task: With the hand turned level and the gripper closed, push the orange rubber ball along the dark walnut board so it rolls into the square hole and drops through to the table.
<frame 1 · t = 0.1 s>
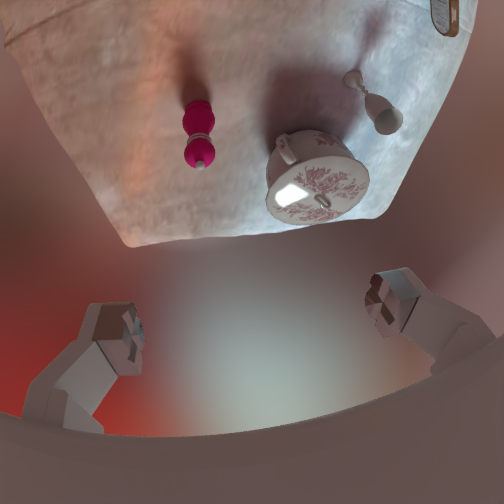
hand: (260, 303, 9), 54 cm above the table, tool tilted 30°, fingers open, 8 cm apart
chamber pot: (302, 149, 74), on the table
chalice: (352, 78, 53), on the table
pepper mill: (198, 110, 58), on the table
tin: (432, 3, 30), on the table
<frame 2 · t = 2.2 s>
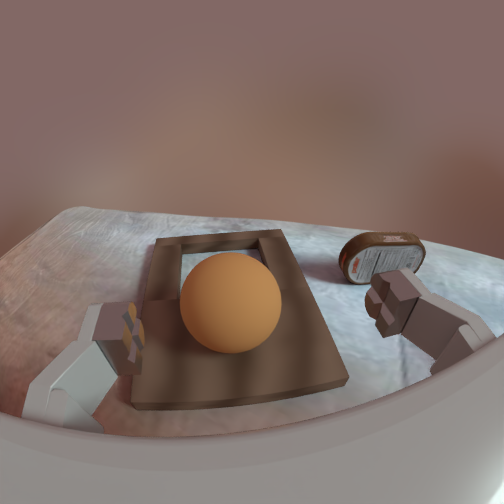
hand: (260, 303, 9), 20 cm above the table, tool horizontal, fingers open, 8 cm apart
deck: (227, 308, 36), on the table
tin: (377, 280, 41), on the table
ball: (230, 303, 27), point 7 cm above the table, touching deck
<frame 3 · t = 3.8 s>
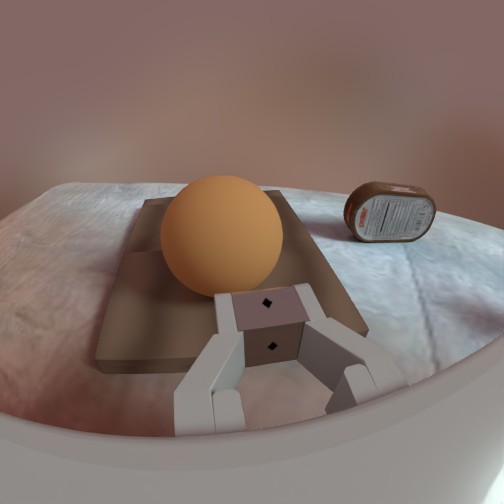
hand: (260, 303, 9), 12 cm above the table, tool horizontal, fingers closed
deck: (219, 262, 32), on the table
tin: (386, 240, 37), on the table
ball: (221, 236, 23), point 7 cm above the table, touching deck
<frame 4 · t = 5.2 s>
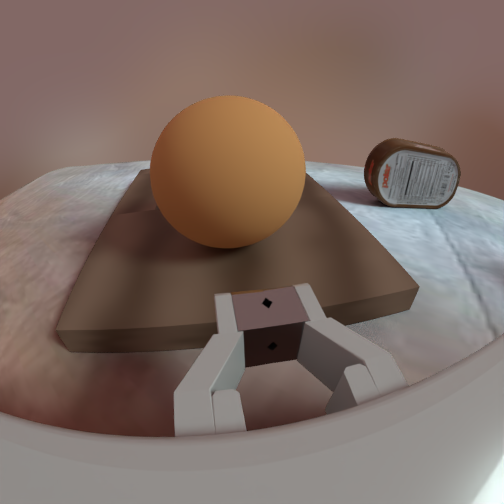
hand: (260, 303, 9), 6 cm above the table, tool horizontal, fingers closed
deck: (224, 224, 26), on the table
tin: (411, 207, 31), on the table
ball: (227, 171, 17), point 7 cm above the table, touching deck
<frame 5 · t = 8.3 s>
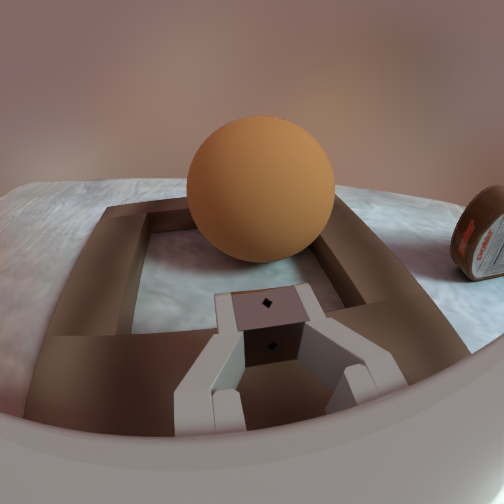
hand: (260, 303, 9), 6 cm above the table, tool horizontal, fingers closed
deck: (248, 356, 14), on the table
tin: (490, 273, 19), on the table
ball: (260, 188, 19), point 5 cm above the table, tilted 175°
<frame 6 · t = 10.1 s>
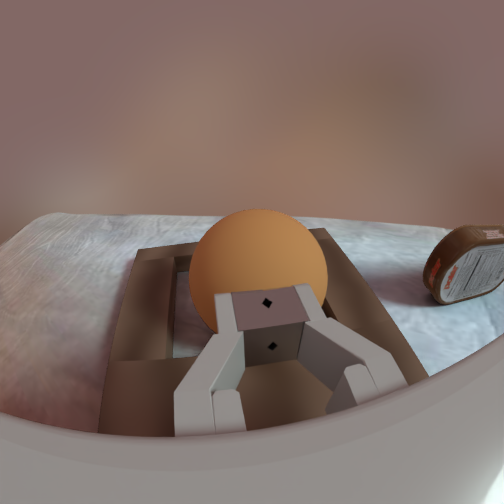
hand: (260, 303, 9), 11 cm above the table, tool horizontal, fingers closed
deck: (259, 369, 19), on the table
tin: (464, 295, 24), on the table
ball: (258, 278, 20), point 5 cm above the table, tilted 126°
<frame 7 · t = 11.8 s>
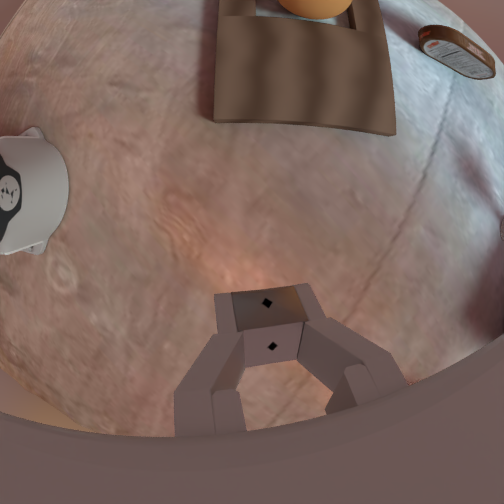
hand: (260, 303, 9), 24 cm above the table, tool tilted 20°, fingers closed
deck: (305, 30, 26), on the table
tin: (443, 61, 27), on the table
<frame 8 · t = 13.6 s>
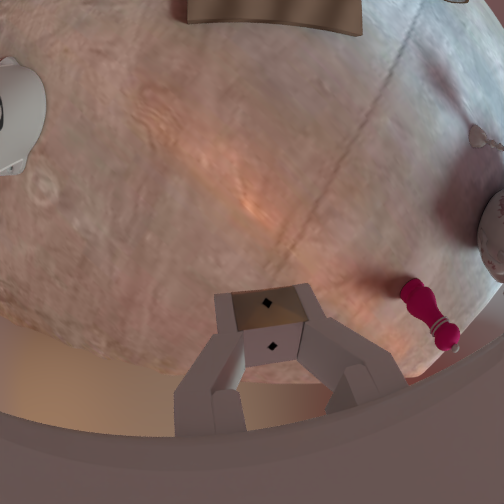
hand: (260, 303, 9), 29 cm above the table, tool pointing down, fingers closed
chamber pot: (491, 217, 50), on the table
chalice: (474, 136, 37), on the table
pepper mill: (409, 288, 56), on the table
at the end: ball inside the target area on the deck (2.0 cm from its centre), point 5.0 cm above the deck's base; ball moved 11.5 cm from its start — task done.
